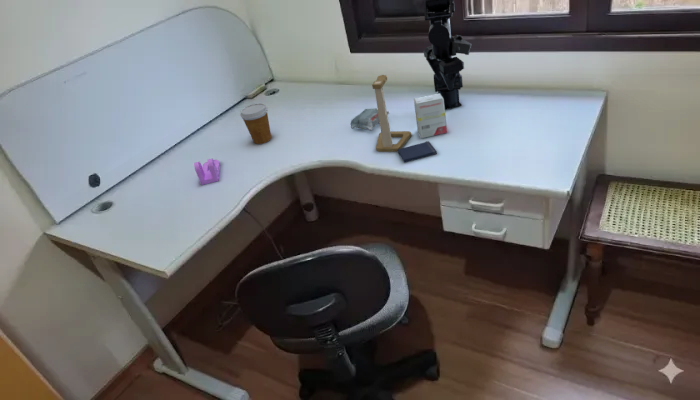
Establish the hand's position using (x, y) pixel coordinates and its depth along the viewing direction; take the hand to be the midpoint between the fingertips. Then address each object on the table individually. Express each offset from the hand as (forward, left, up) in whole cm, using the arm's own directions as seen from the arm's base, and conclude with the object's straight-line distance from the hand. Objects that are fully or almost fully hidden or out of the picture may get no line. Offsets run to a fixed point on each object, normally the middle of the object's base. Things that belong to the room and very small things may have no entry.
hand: (445, 85), depth 159 cm
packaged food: (+23, -13, -13) cm, 29 cm away
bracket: (+78, -9, -13) cm, 80 cm away
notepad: (+15, +13, -13) cm, 24 cm away
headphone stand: (+20, +3, -13) cm, 24 cm away
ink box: (+7, +3, -13) cm, 15 cm away
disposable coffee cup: (+60, -24, -13) cm, 66 cm away
